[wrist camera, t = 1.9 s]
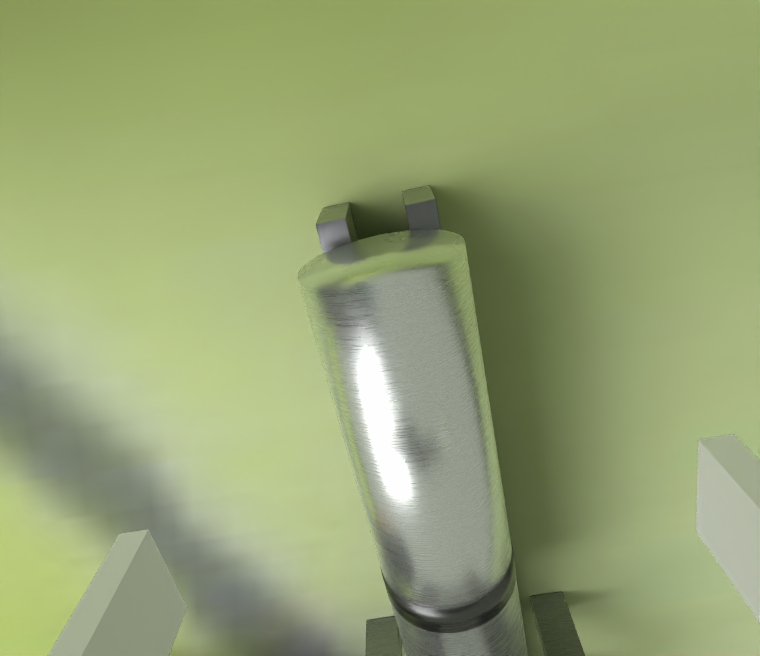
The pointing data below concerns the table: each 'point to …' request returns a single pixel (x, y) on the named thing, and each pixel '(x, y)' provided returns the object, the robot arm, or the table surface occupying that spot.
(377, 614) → the table surface
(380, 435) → the tube
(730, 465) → the robot arm
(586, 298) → the table surface
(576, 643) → the gray metal rack
